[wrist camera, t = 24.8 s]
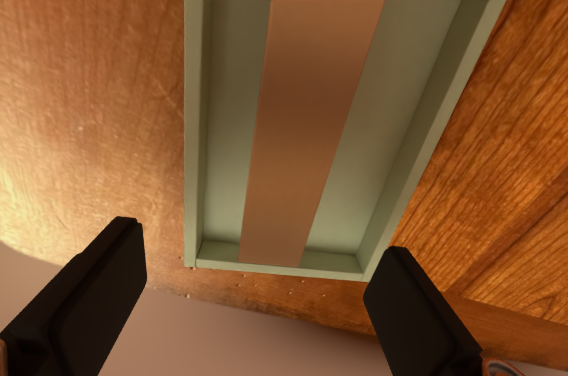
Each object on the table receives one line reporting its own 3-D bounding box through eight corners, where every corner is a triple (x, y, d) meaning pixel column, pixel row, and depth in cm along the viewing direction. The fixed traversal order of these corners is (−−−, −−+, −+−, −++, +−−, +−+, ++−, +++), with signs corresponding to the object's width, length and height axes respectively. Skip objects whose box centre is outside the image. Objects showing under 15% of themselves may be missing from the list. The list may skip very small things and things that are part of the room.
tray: (193, 242, 14) (183, 266, 12) (213, -624, 5) (183, -1004, 3) (359, 258, 16) (370, 282, 14) (631, -378, 6) (770, -545, 4)
